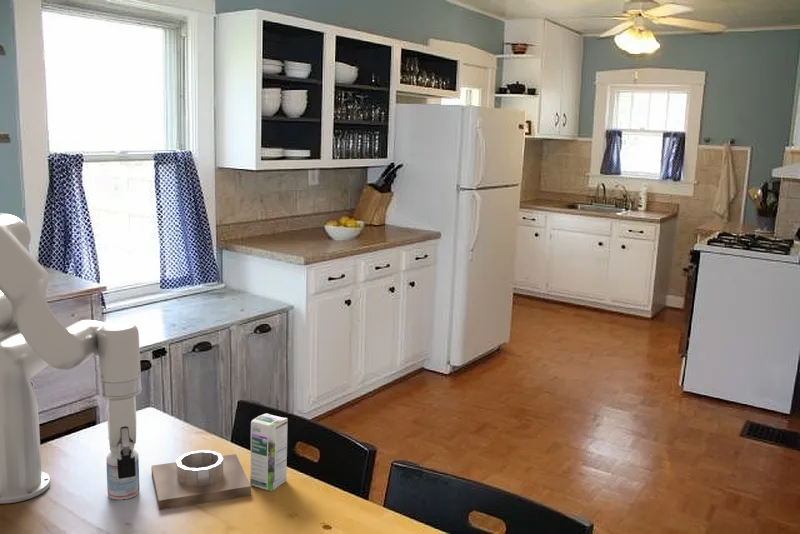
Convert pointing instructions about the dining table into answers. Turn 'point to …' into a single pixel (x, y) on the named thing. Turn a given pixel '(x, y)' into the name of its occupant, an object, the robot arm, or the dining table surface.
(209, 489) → the holder board
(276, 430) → the syrup box
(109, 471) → the pill bottle
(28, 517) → the dining table surface
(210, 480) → the bottle ring
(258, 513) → the dining table surface
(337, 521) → the dining table surface
